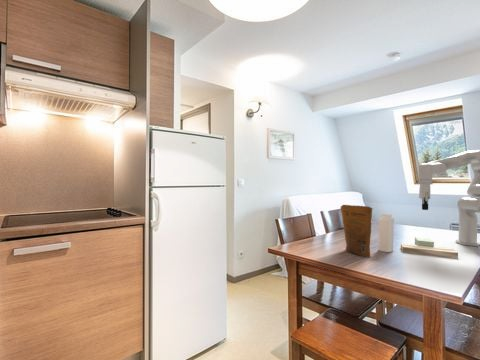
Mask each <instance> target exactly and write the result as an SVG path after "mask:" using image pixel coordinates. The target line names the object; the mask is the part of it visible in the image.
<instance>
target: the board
mask: <svg viewBox="0 0 480 360" xmlns="http://www.w3.org/2000/svg"><path fill="white" fill-rule="evenodd" d="M400 250H401V252H403V253H408V254H417V255H425V256H434V257H442V258H443V257H444V258H451V259H459V252H458V251H456V250H455V248H450V247H439V246H434V247H432V246H422V245H415V244H409V243H402V242H401V243H400Z"/></svg>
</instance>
